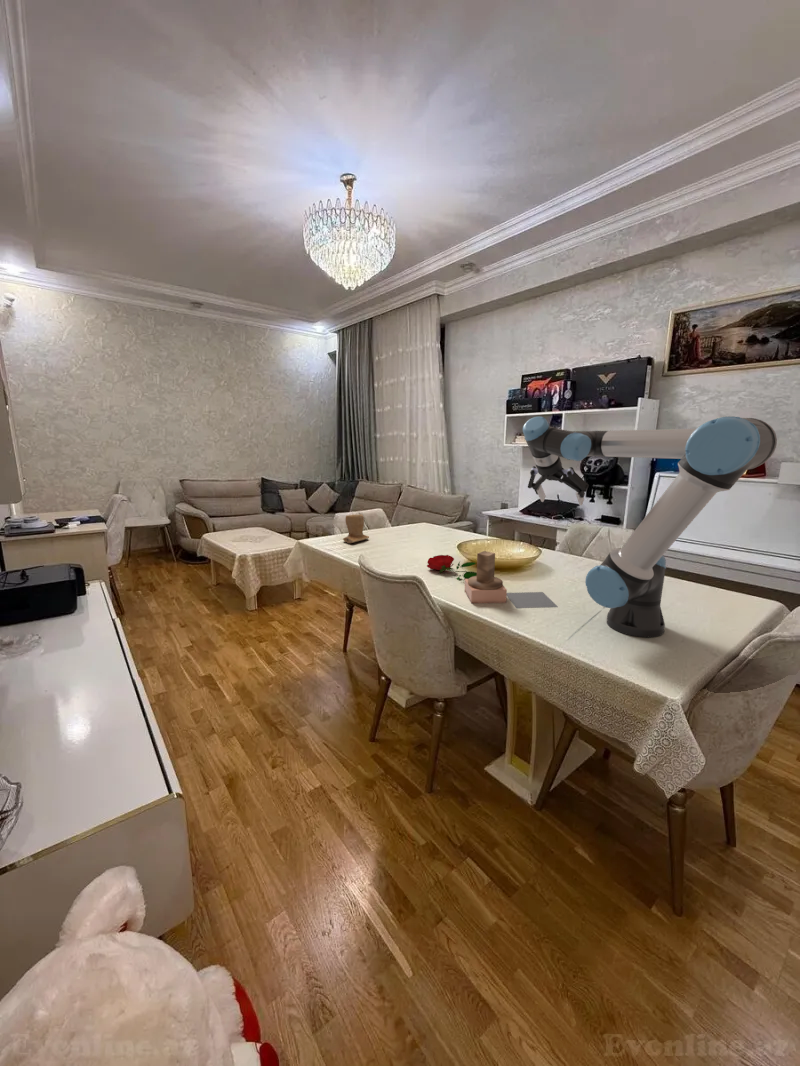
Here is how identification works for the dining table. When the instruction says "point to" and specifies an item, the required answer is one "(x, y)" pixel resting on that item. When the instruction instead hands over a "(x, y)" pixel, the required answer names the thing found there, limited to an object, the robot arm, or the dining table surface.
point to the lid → (485, 573)
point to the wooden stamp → (355, 528)
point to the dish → (485, 594)
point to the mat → (530, 600)
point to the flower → (449, 565)
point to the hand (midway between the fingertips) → (562, 500)
